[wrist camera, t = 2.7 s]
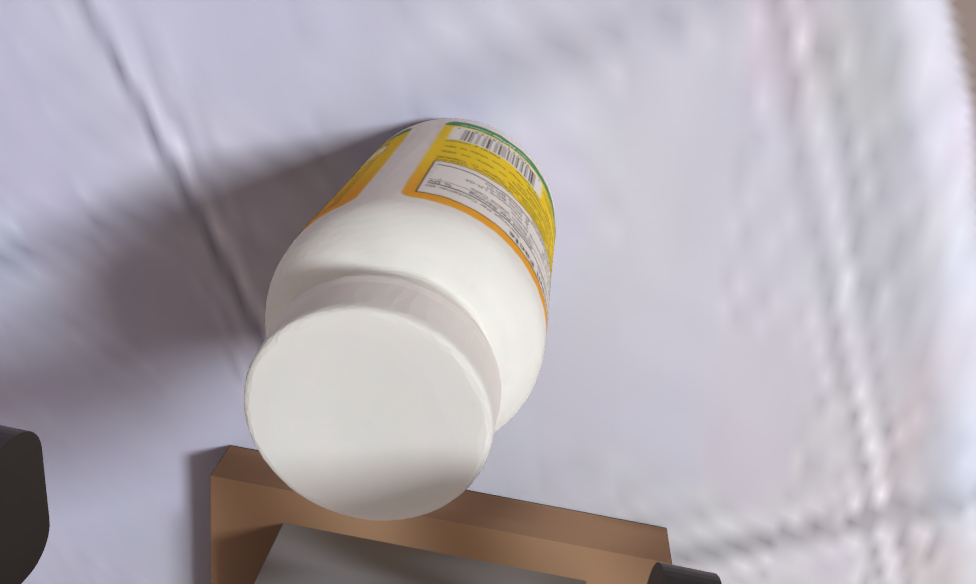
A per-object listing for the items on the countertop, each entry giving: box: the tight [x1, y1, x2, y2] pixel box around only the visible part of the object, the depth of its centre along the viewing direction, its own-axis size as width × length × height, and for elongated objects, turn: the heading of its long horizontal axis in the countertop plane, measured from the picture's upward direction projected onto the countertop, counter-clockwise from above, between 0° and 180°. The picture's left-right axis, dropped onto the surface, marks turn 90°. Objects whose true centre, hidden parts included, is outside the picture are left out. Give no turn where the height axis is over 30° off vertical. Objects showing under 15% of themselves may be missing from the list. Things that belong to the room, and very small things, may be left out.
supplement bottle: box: [244, 119, 556, 521], centre depth 16 cm, size 5×5×10 cm
